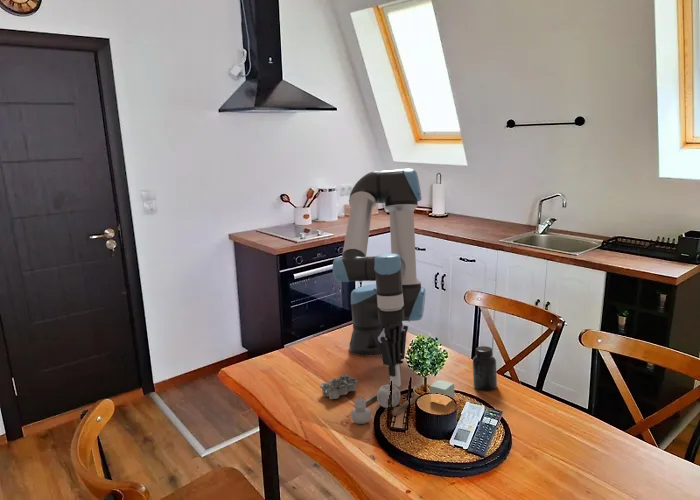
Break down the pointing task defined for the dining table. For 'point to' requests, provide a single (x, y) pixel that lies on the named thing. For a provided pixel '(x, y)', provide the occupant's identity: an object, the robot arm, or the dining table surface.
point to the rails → (395, 411)
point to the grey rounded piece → (360, 412)
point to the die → (384, 395)
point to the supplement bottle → (484, 369)
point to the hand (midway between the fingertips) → (395, 384)
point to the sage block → (443, 388)
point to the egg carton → (339, 386)
